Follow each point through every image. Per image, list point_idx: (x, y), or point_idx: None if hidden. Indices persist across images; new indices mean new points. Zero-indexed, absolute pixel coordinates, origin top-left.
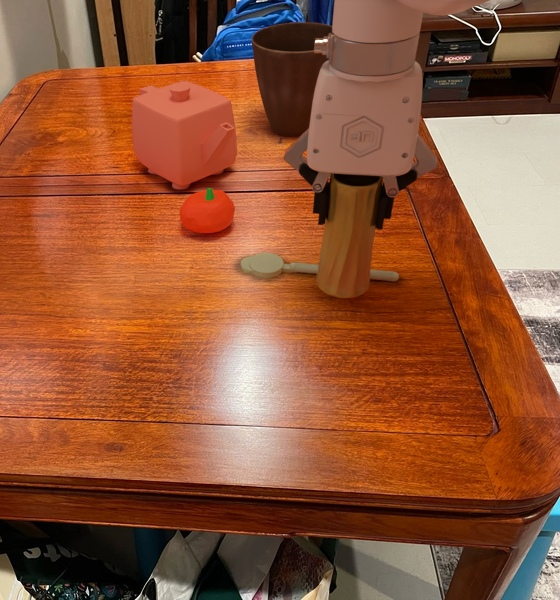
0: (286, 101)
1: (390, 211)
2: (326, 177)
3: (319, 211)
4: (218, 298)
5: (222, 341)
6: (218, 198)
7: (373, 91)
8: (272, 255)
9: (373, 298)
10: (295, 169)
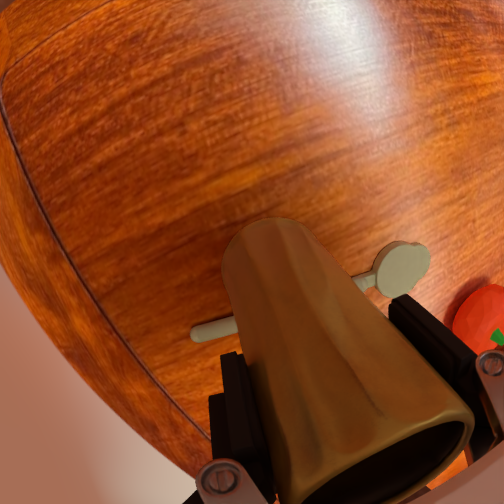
0: (411, 499)
1: (213, 414)
2: (501, 405)
3: (432, 315)
4: (434, 167)
5: (397, 72)
6: (486, 340)
7: None
8: (395, 292)
9: (211, 273)
10: None
